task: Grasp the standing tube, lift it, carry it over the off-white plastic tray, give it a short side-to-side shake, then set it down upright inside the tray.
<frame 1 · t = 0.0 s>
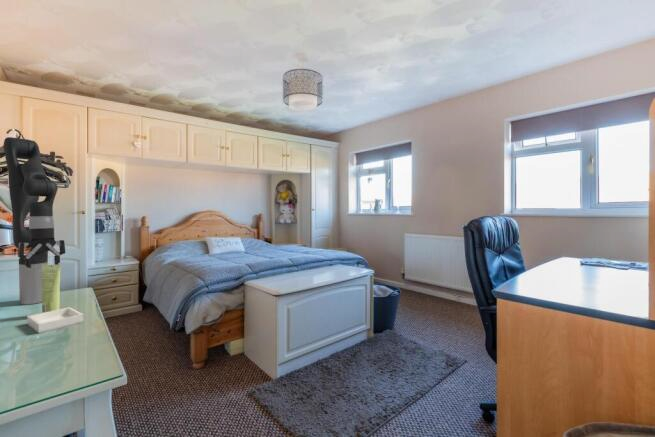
hand: (43, 266, 126), 17 cm above the table, tool pointing down, fingers open, 8 cm apart
tray: (55, 323, 109), on the table
tube: (51, 315, 118), on the table
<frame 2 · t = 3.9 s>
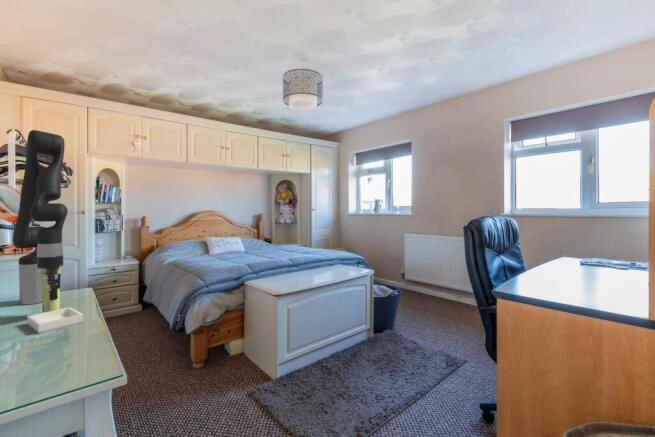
hand: (51, 298, 117), 6 cm above the table, tool pointing down, fingers closed on tube, 5 cm apart
tube: (51, 315, 118), on the table, touching gripper
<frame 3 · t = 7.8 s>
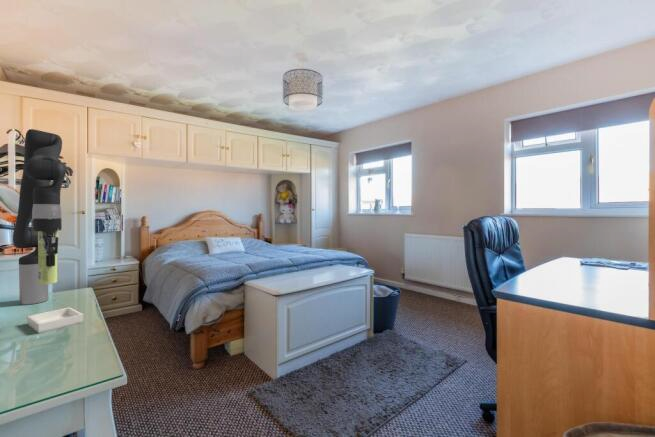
hand: (48, 265, 107), 21 cm above the table, tool pointing down, fingers closed on tube, 5 cm apart
tube: (48, 283, 107), point 15 cm above the table, touching gripper
when the fingers open (8 cm above the table, at t = 11.6 s): tube drops 1 cm, resting on tray.
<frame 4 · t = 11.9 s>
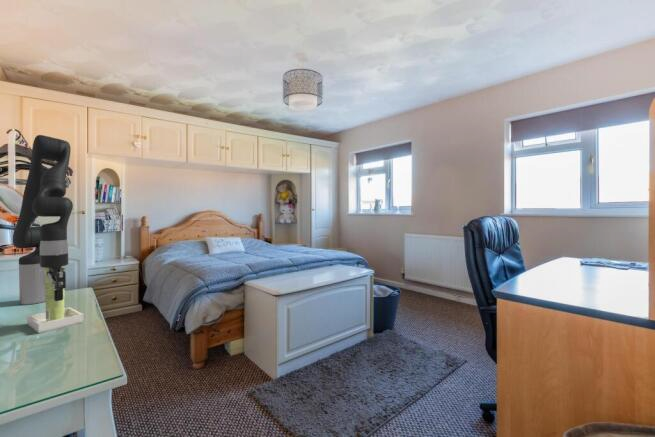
hand: (55, 298, 108), 9 cm above the table, tool pointing down, fingers open, 7 cm apart
tube: (55, 322, 109), resting on tray
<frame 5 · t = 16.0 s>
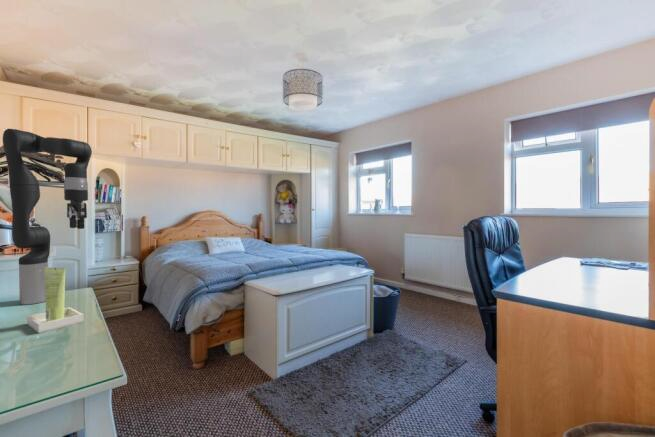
hand: (77, 228, 125), 33 cm above the table, tool pointing down, fingers open, 8 cm apart
nothing on the table moved.
at the end: tube inside the target area on the tray (0.1 cm from its centre), point 0.4 cm above the tray's base; tube tilted 0°; the gripper is holding nothing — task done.
